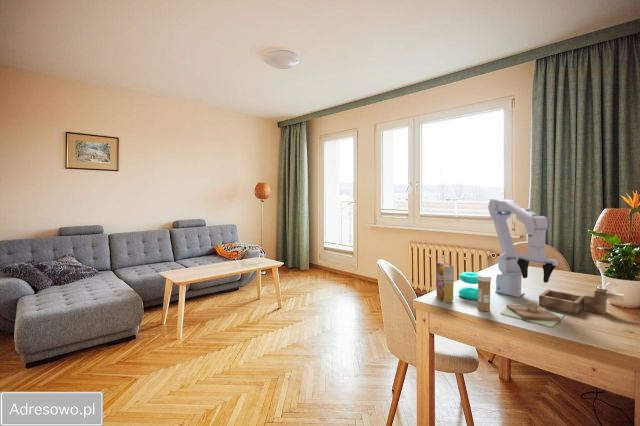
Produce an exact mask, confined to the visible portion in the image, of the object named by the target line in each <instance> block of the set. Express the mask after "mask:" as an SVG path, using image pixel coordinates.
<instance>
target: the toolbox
mask: <svg viewBox="0 0 640 426" xmlns="http://www.w3.org/2000/svg"><path fill="white" fill-rule="evenodd" d="M584 297H585V295H579V294H576V293H575V294H574V293H569V292H568V293H567V292H563V291H559V290H552V289H546V290H545V291H543V292H542V293H541V294H539V297H538V306H541V307H543V308H544V309H547V310H552V311H557V312H561V313H566V314H570V315H574V316H578V315H579V314H580V313H581V312H582V311H583V310H584Z"/></svg>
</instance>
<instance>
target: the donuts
mask: <svg viewBox="0 0 640 426" xmlns="http://www.w3.org/2000/svg"><path fill="white" fill-rule="evenodd" d="M479 274H480V273H478V272H473V271H471V272H470V271H464V272H461V273H459V275H458V277H459V280H460V281H461V282H463V283H465V284H469V285H478V275H479ZM458 295H459V296H460V297H462V298H464V299H468V300H472V301H473V300H477V301H478V287H473V286H463V287H461V288H459V290H458Z"/></svg>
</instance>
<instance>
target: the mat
mask: <svg viewBox="0 0 640 426" xmlns="http://www.w3.org/2000/svg"><path fill="white" fill-rule="evenodd" d="M513 305H521V304H520V303H514V304H513ZM550 312H551V313H553V314H555V315H557V316H558V317H560V320H562V318H564V317H565V314H562V313H558V312H553V311H550ZM499 314H500V315H502V314H504V315H503V316H506V315H507V316H508V317H510V316H511V318H514V317H515V318H514V319H518V318H519V319H518V320H521V319H522V318H521V317H519V316H518V315H516V314H515V313H514V312H512V311H511V310H509V309H508V308H506V309H504V310H503V311H502V312H500V313H499ZM507 316H506V317H507ZM522 321H525V320H524V319H523V320H522ZM529 321H530V322H529ZM526 322H529V323H533V322H534V323H533V324H537V325H540V324H541V325H540V326H544V327H549V328H553V327H554V326H556V325H557V323H558V322H559V321H544V320H526Z"/></svg>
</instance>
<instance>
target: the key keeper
mask: <svg viewBox="0 0 640 426" xmlns="http://www.w3.org/2000/svg"><path fill="white" fill-rule="evenodd" d="M594 290H595V296H594V294H591V293H586V294H584V296H585V297H584V308H583V311H586V312H587V311H588V312H591V313H592V312H593V313H596V314H601V315H606V313H607V309H608V308H607V304H608V298H606V292H608V289H603V288H598V287H597V288H596V289H594ZM605 291H606V292H605Z"/></svg>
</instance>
